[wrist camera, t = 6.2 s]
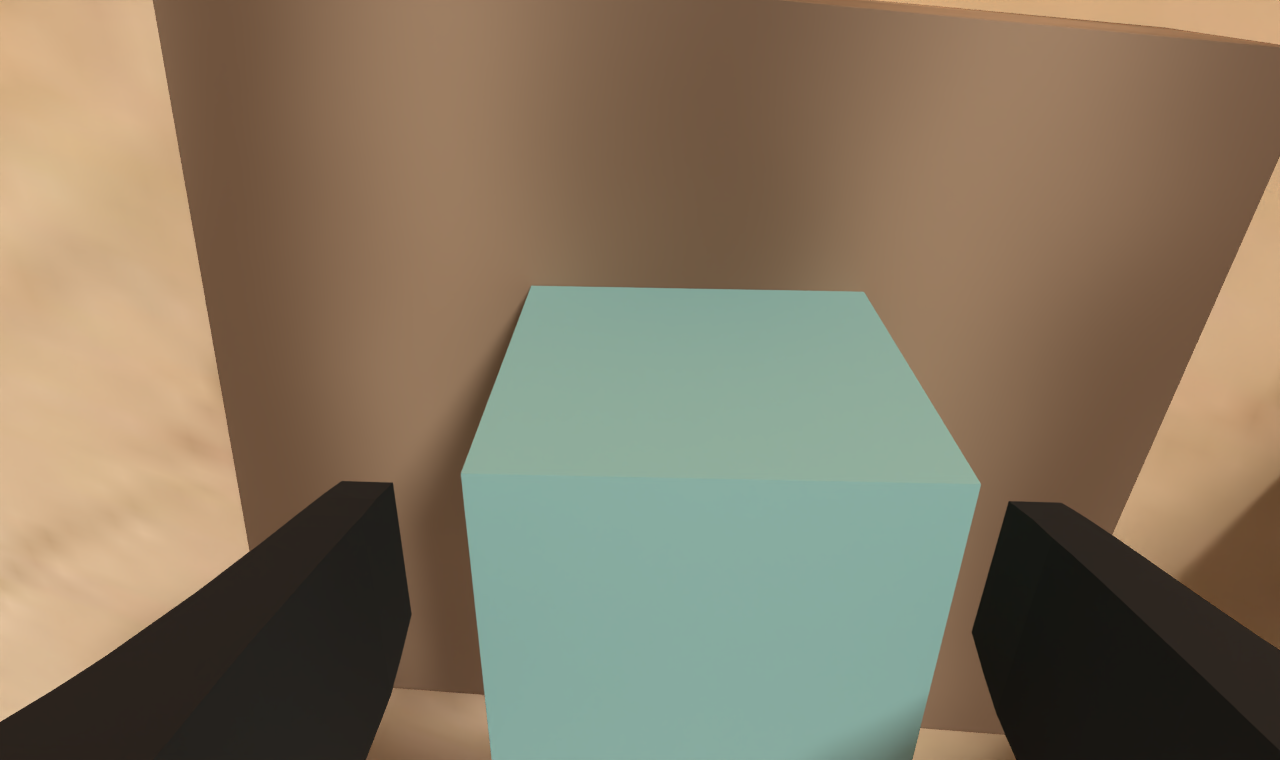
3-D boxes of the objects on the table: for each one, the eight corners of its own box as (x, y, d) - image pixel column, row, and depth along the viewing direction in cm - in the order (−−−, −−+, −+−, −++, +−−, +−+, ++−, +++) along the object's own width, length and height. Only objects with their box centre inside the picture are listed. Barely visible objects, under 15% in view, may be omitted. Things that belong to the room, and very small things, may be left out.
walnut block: (346, 540, 19) (272, 678, 15) (283, -57, 13) (142, -60, 9) (954, 588, 19) (1023, 735, 15) (1148, 25, 13) (1325, 51, 10)
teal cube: (544, 547, 13) (497, 806, 9) (531, 285, 11) (460, 473, 7) (824, 554, 13) (898, 816, 9) (863, 291, 11) (980, 484, 7)
